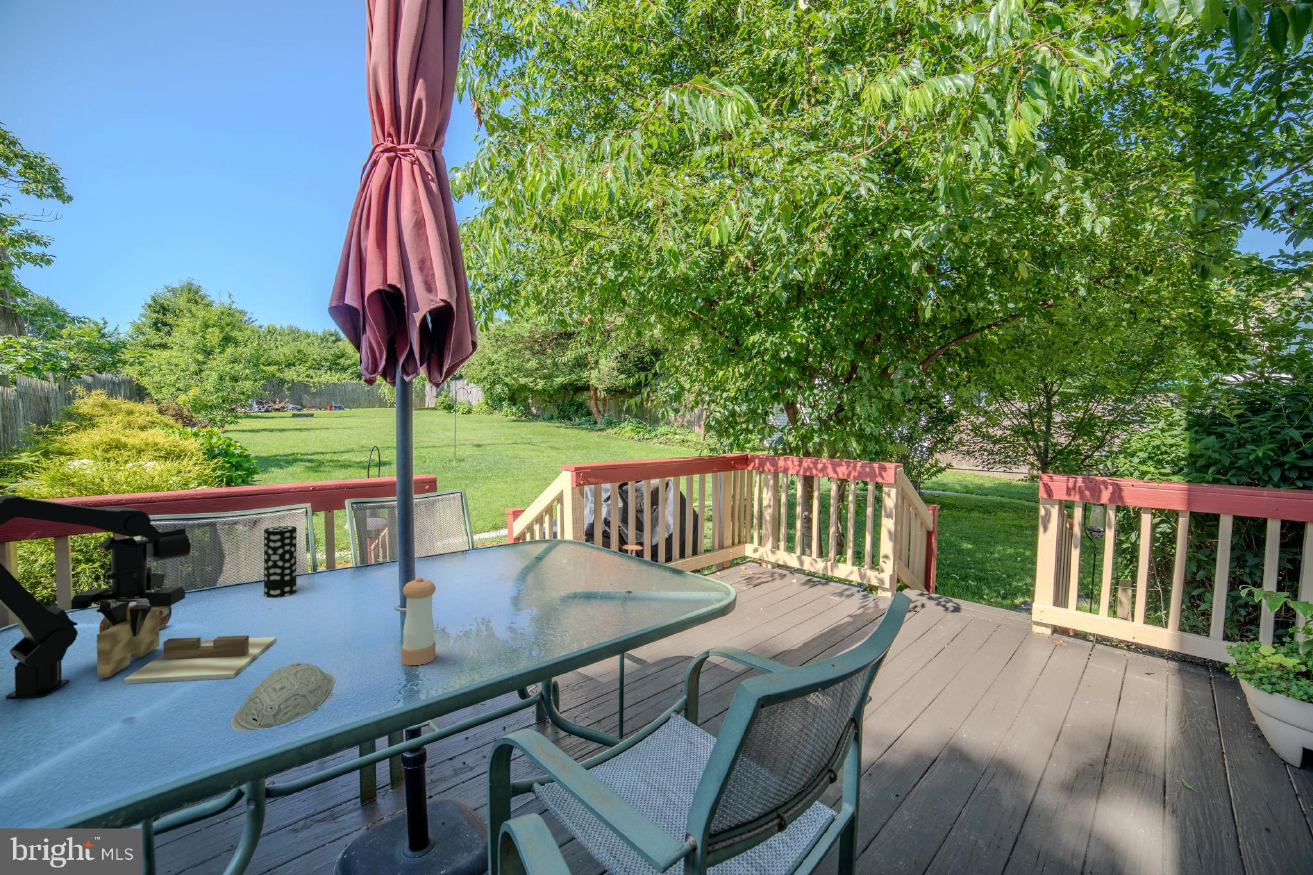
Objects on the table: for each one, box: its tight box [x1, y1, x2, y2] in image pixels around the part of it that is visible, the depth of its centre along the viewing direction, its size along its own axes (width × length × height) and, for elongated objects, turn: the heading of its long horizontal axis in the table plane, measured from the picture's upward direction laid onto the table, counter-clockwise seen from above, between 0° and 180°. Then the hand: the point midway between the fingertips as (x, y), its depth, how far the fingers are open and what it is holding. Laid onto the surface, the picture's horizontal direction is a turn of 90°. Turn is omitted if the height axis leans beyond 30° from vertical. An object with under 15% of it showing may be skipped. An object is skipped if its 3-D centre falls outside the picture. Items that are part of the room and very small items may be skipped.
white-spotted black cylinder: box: [263, 525, 298, 599], centre depth 177 cm, size 8×8×20 cm
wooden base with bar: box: [123, 635, 277, 685], centre depth 130 cm, size 20×20×5 cm
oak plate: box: [96, 608, 160, 679], centre depth 127 cm, size 16×2×9 cm, turn 11°
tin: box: [98, 602, 173, 634], centre depth 142 cm, size 15×3×8 cm, turn 168°
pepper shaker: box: [400, 576, 437, 666], centre depth 133 cm, size 7×7×19 cm
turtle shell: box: [230, 661, 336, 732], centre depth 114 cm, size 16×25×7 cm, turn 14°
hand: (130, 636), depth 127 cm, fingers closed on oak plate, 2 cm apart
